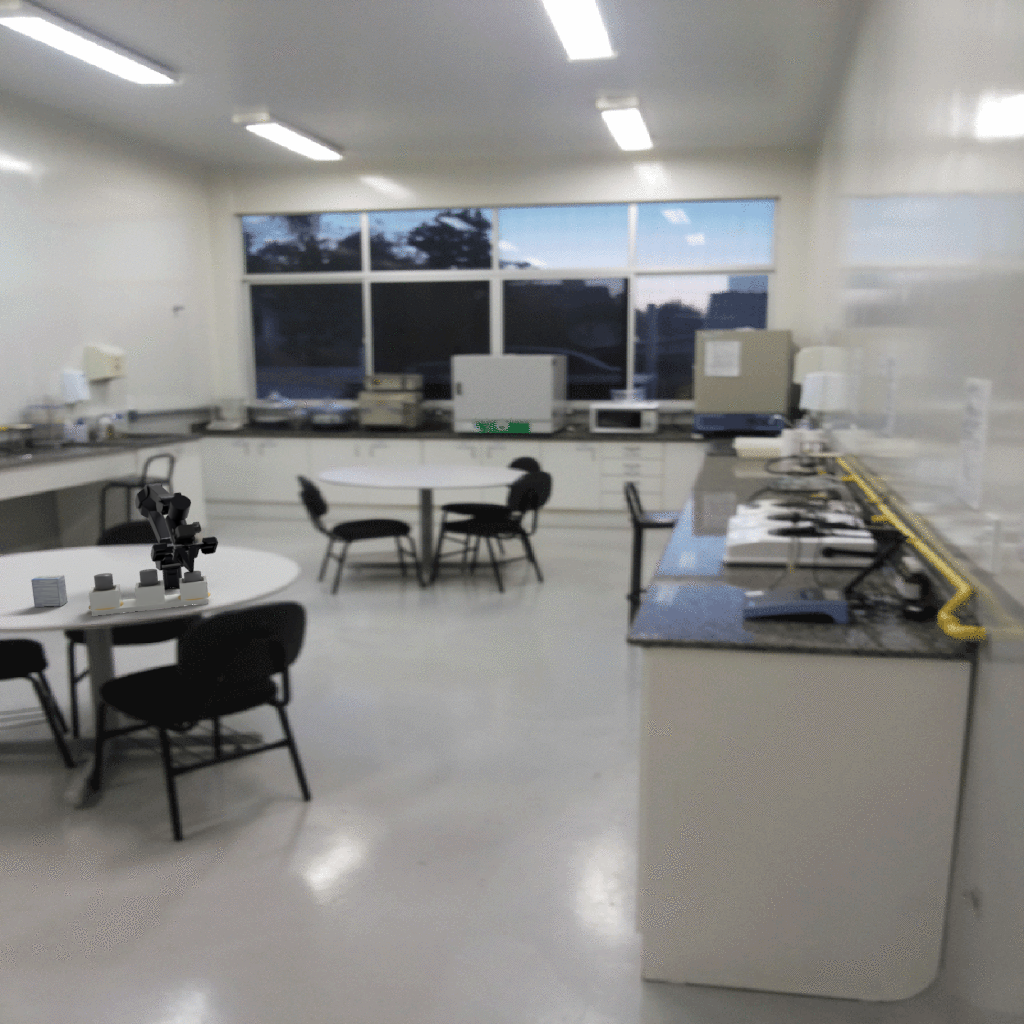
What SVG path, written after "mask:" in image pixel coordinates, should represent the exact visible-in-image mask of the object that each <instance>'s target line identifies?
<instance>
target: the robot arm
mask: <svg viewBox="0 0 1024 1024" xmlns="http://www.w3.org/2000/svg"><path fill="white" fill-rule="evenodd" d="M191 501H192V500H191V499H190V498H189V497H188V496H186V495H182V492H181V491H178V492H173V493H170V492H169V491H168V490H167V489H165V488H164V487H163V484H162V483H159V482H157V483H154V482H153V483H147V484H145V485H144V487H143V488H142V489H141V490H140V491H139V492H137V493H136V496H135V499H134V502H135V504H134V505H135V509H137V510H138V512H139V514H140V515H141V516H142V517H144V518H146V519H148V521H149V523H150V526H151V529H152V531H153V533H154V535H155V538H156V541H157V542H158V543H154V544H152V546H151V550H150V559H151V561H152V562H154V563H155V569H156V570H157V571H162V580H164V590H170V589H180V585H179V578H183V572H182V568H184V569H186V570H187V572H188V571H189V572H190V573H191V572H193V571H195V570H194V569H195V559H196V558H198V556H199V552H201V554H203V555H212V554H213V555H214V554H215V553H216V551H217V548H218V545H219V541H218V538H217V537H216V536H213V535H212V536H206V537H202V539H201V541H200V542H195V540H196V537H195V536H196V535H197V534H200V533H201V532H202V526H201V524H200V521H193V522H192V523H187V520H186V519H188V516H189V513H190V509H191V505H192V502H191Z"/></svg>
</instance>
